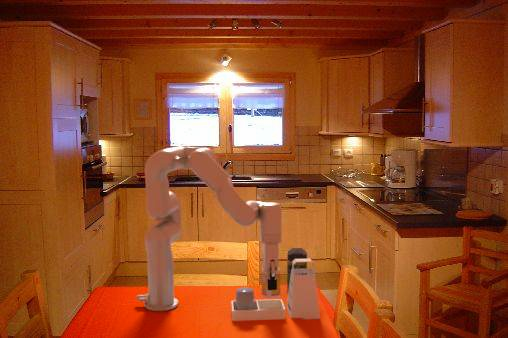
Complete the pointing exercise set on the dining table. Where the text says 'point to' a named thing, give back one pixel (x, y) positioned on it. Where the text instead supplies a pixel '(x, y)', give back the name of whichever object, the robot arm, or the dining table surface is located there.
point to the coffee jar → (296, 254)
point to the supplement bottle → (265, 290)
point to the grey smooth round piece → (244, 299)
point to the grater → (303, 293)
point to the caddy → (260, 310)
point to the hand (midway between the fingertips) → (271, 285)
